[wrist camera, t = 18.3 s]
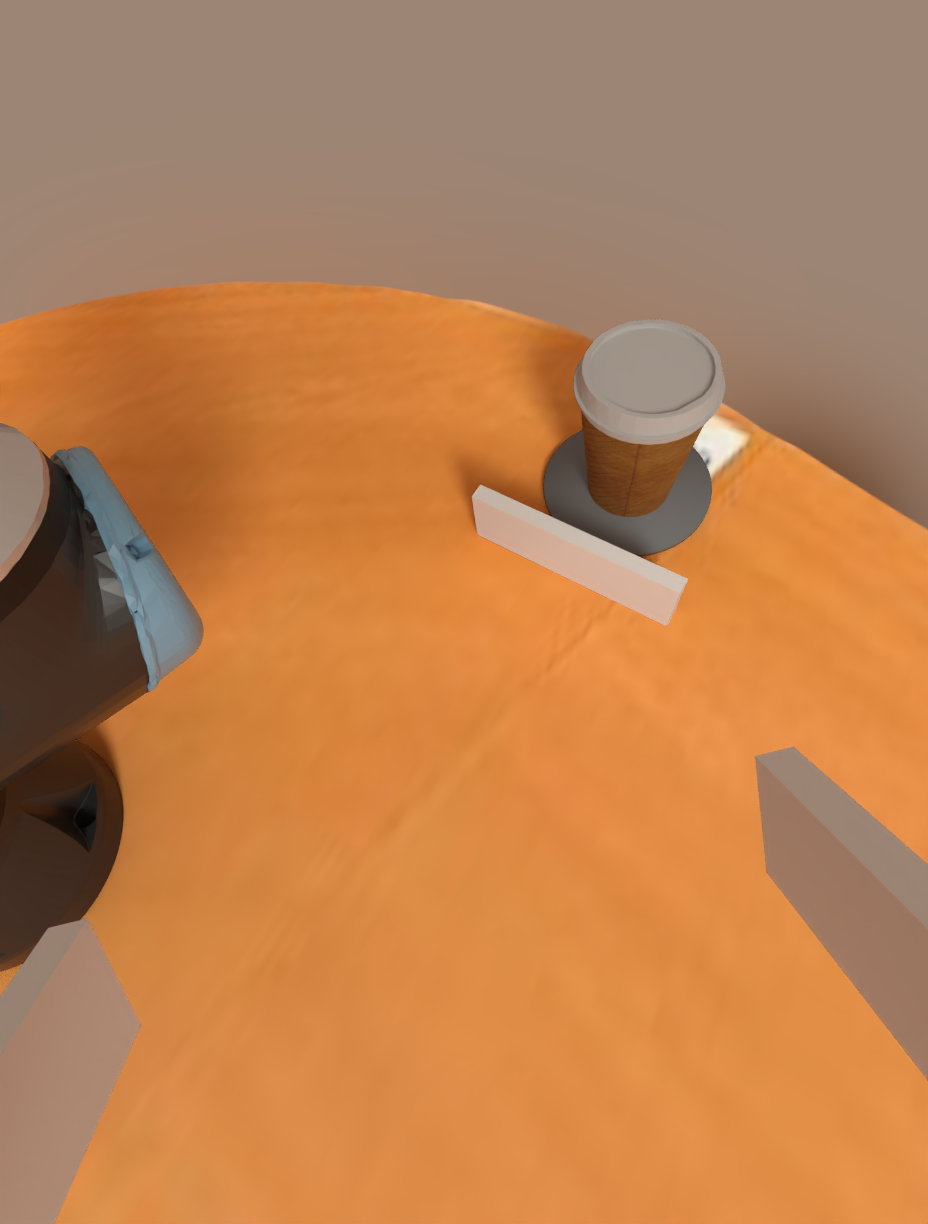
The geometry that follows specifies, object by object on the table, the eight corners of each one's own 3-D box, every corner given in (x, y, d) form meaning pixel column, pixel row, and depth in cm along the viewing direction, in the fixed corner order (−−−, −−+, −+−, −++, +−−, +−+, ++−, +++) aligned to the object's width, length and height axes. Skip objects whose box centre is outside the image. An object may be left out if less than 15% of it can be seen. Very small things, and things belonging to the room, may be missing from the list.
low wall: (477, 534, 52) (471, 496, 47) (485, 523, 52) (480, 484, 48) (666, 626, 47) (680, 593, 42) (673, 613, 47) (688, 579, 43)
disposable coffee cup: (609, 421, 55) (626, 295, 44) (713, 471, 52) (758, 349, 41) (543, 498, 52) (544, 384, 42) (648, 556, 49) (678, 449, 38)
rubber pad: (513, 513, 52) (513, 510, 52) (591, 404, 57) (591, 400, 56) (665, 584, 48) (667, 580, 48) (737, 460, 53) (738, 456, 52)
